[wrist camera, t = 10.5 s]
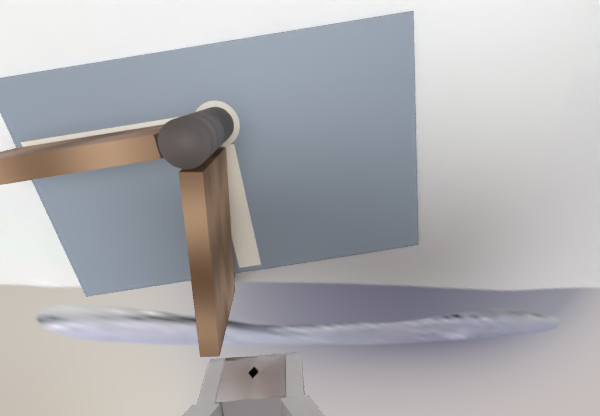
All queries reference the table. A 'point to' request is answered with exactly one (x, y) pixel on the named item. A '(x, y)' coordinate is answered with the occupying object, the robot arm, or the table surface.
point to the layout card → (236, 149)
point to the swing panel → (209, 248)
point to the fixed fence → (123, 148)
